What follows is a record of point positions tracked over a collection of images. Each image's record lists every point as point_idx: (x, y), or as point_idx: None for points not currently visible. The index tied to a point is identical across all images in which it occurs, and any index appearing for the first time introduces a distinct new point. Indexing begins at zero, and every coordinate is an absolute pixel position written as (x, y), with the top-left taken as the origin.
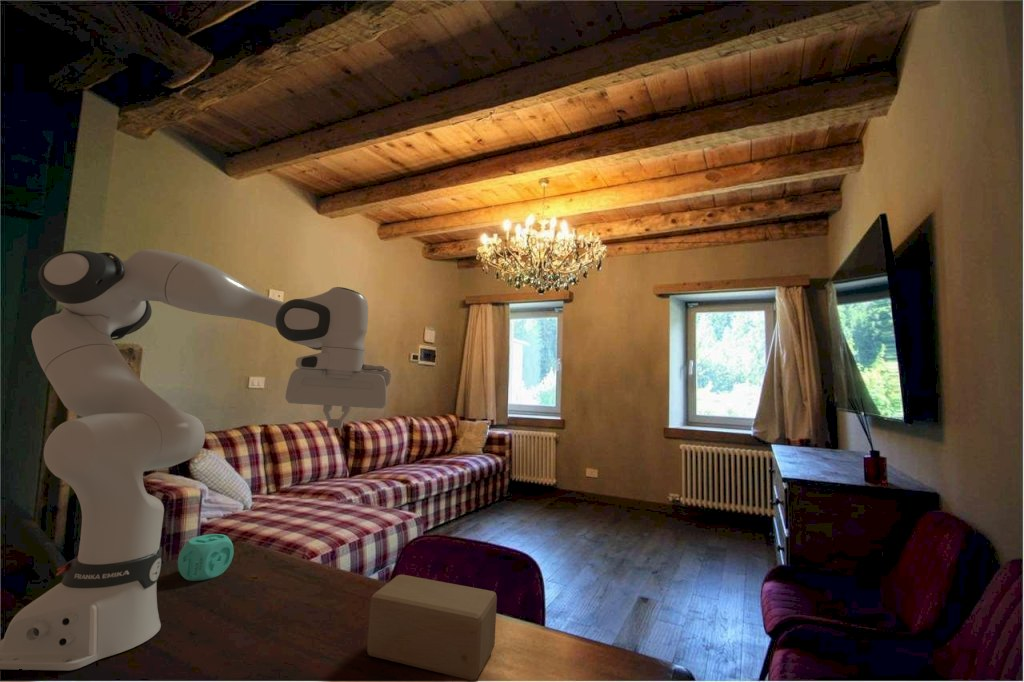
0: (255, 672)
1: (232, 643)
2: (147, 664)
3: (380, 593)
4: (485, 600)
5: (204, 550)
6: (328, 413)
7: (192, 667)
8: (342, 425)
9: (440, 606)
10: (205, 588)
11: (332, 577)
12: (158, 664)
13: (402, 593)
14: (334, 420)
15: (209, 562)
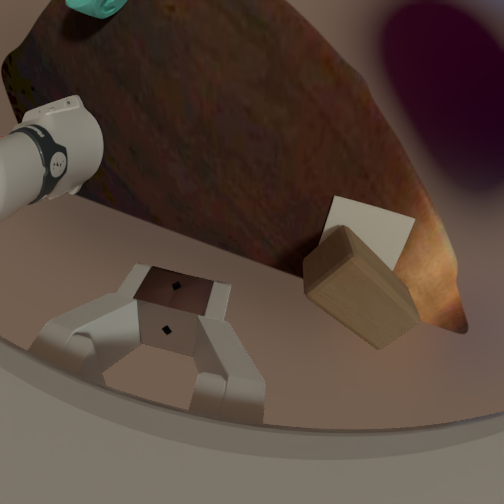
0: (205, 242)
1: (174, 184)
2: (118, 199)
3: (315, 297)
4: (400, 334)
5: (87, 11)
6: (105, 363)
7: (153, 215)
8: (228, 298)
9: (359, 333)
10: (118, 37)
11: (285, 30)
12: (125, 201)
13: (337, 305)
14: (166, 343)
15: (104, 8)
